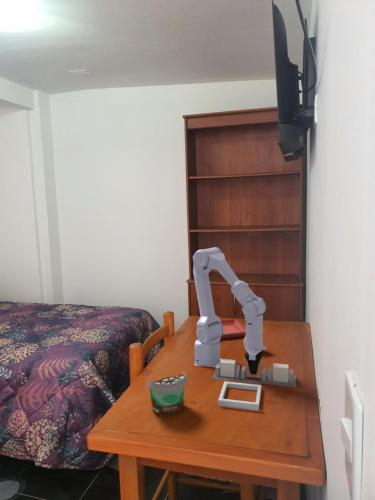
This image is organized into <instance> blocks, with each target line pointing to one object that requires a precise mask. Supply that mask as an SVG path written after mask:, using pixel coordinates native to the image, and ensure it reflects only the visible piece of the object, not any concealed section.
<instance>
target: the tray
mask: <svg viewBox="0 0 375 500" xmlns="http://www.w3.org/2000/svg"><path fill="white" fill-rule="evenodd" d="M227 388H230V389H239V390H240V389H241V390H246V391H247V390H249V391H256V396H255V398H256V399H255V402H254V401H253V402H252V401H245V400H237V399H229V398H228V399H227V398H225V395H226V392H227ZM261 394H262V384H255V383H245V382H236V381H226V380H224V381H223V385H222V388H221V390H220V394H219V397H218V399H217V404H218V405H217V406H218V407H223V408H231V409H236V410H237V409H239V410H246V411H256V412H259V411H260V404H261Z"/></svg>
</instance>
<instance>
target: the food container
mask: <svg viewBox="0 0 375 500" xmlns="http://www.w3.org/2000/svg"><path fill="white" fill-rule="evenodd" d="M187 383H188V381H187V376H186V374H185V372H184V371H182V374H179V375H176V376H175V375H174V376H167V377H163V378H161V379H159V380H156V381H151V380H148V382H147V386H146V388H148V389H149V393H150V394H149V396H150V400H151V401H150V402H151V409H152V412H153V413H154V414H156V415H158V416H161V417H170V416H171V417H172V416H174V415H178V414H179V413H181V412H182V410H183V407H184V397H185V395H184V394H185V387H186V385H187Z"/></svg>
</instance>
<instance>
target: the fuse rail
mask: <svg viewBox="0 0 375 500" xmlns="http://www.w3.org/2000/svg"><path fill="white" fill-rule="evenodd" d="M296 376H297V375H294V369H289V370H288V383H287V382H277V381H273V367H269V368H268V372H267V367H262V368H261V378H254V377H246V365H242V366H241V365H239V364H238V365H236V374H235V377H227V376H220V364H219V363H217V365H216V367H215V370H214V372H213V374H212V377H211V379H212V380H213V379H214V380H220V381H221V380H224V381H230V382H240V383H250V384H259V385H262V384H263V385H269V386H270V385H271V386H281V387H289V388H290V387H292V388H297V380H296V379H297V378H296Z"/></svg>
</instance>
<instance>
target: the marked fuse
mask: <svg viewBox="0 0 375 500" xmlns="http://www.w3.org/2000/svg"><path fill="white" fill-rule="evenodd" d="M245 362H246V363H245V366H246V377H254V378H261V373H262V363H263V362H262V359H261V360H260V362H259V365H258V370H257V374H256V375H255V374H250V371H249V366H248V362H247V360H246V361H245Z"/></svg>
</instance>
